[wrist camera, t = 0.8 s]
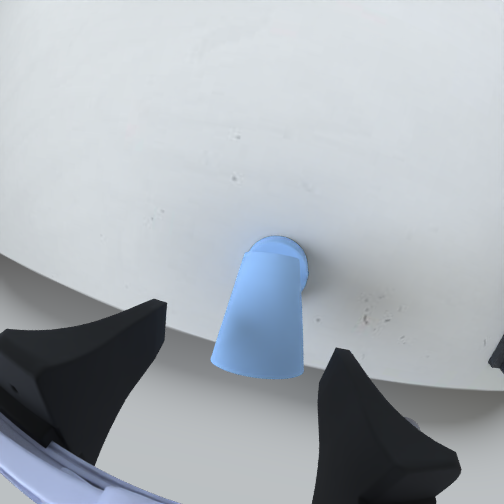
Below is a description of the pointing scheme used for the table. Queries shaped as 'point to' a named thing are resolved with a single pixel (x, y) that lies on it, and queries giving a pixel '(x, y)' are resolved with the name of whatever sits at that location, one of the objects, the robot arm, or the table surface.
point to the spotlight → (265, 313)
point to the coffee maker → (498, 356)
